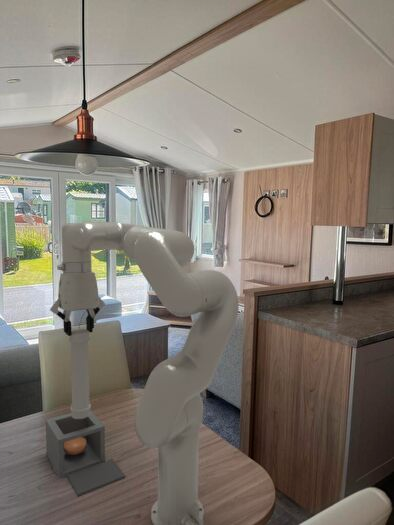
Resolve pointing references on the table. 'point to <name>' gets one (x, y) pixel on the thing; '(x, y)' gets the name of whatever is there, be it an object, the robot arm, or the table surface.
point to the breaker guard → (68, 430)
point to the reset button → (75, 446)
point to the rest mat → (95, 477)
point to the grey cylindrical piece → (80, 373)
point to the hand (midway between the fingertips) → (79, 332)
